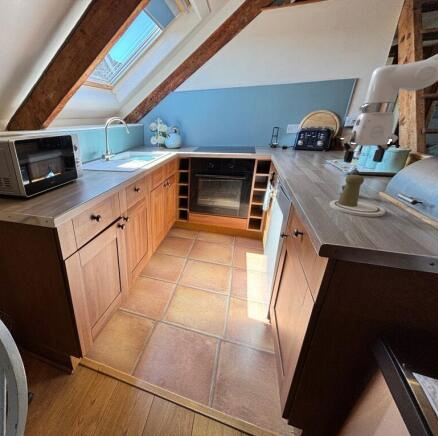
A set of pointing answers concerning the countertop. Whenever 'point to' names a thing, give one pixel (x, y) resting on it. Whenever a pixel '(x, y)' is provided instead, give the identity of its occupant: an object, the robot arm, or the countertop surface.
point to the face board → (359, 209)
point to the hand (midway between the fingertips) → (361, 162)
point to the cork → (351, 191)
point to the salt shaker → (353, 172)
